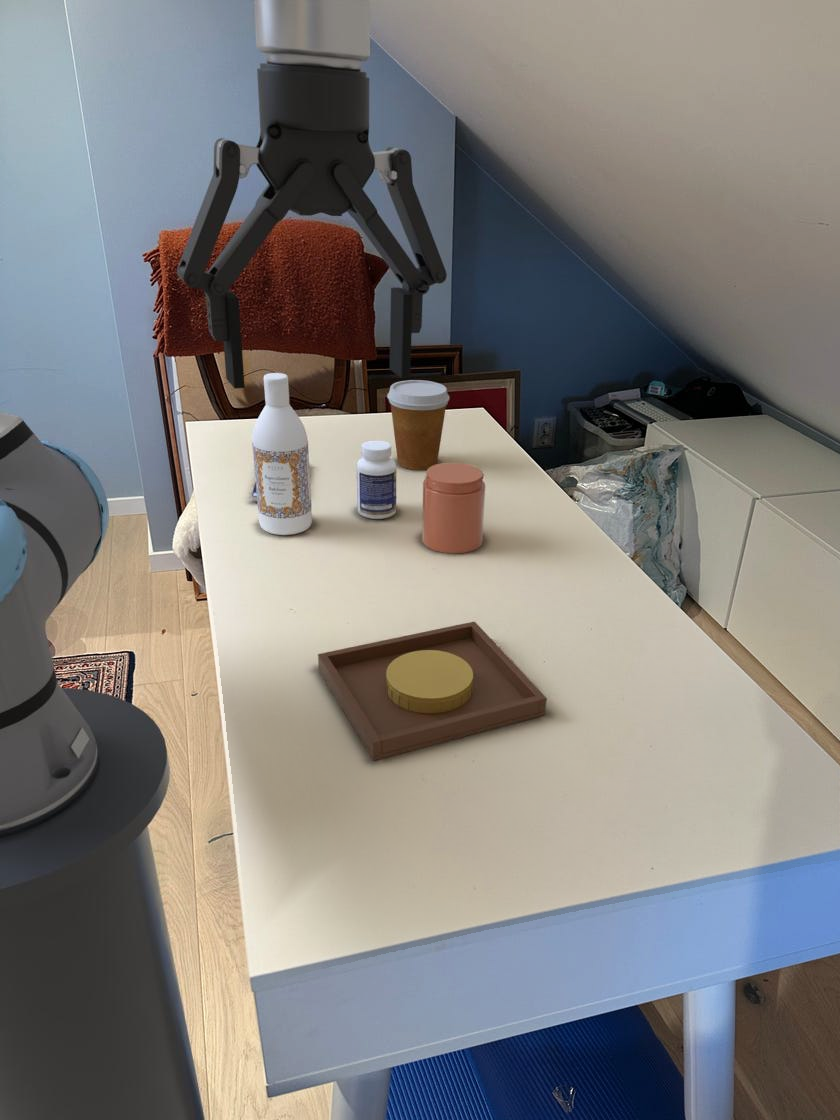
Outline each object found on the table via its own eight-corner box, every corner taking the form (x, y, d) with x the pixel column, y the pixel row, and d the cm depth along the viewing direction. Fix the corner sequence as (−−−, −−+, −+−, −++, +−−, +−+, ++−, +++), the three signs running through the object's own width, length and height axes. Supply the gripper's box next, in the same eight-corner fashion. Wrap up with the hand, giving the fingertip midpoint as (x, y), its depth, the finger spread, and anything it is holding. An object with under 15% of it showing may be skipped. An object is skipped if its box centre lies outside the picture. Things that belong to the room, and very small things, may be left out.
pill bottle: (402, 516, 124) (402, 449, 119) (366, 522, 122) (364, 453, 117) (387, 502, 128) (387, 436, 123) (352, 507, 126) (350, 440, 121)
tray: (373, 760, 79) (373, 743, 78) (318, 670, 90) (317, 653, 89) (545, 715, 86) (547, 698, 85) (473, 636, 98) (474, 621, 97)
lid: (372, 675, 89) (372, 659, 88) (450, 657, 93) (451, 642, 92) (405, 722, 83) (406, 706, 82) (487, 701, 86) (488, 686, 85)
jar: (436, 557, 114) (438, 487, 109) (412, 532, 120) (413, 465, 115) (492, 548, 117) (496, 479, 112) (466, 524, 123) (469, 458, 118)
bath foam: (253, 534, 117) (239, 381, 106) (266, 513, 123) (254, 366, 112) (306, 538, 117) (297, 385, 106) (316, 516, 123) (309, 370, 112)
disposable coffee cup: (375, 460, 142) (374, 385, 136) (421, 448, 148) (422, 376, 142) (413, 478, 136) (413, 400, 130) (459, 465, 142) (462, 390, 136)
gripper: (456, 76, 68) (443, 358, 79) (109, 45, 58) (149, 374, 69) (502, 79, 63) (480, 381, 74) (127, 44, 52) (167, 402, 63)
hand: (320, 378), depth 71 cm, fingers open, 13 cm apart
